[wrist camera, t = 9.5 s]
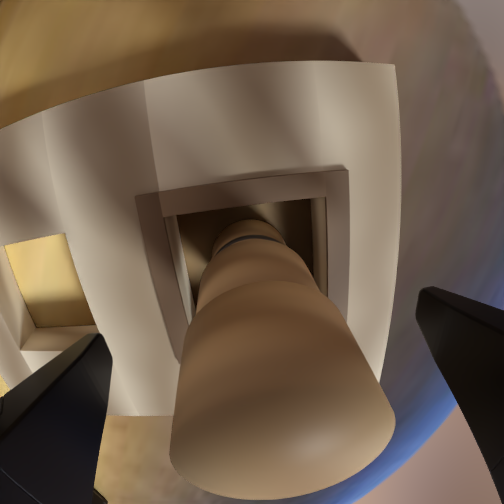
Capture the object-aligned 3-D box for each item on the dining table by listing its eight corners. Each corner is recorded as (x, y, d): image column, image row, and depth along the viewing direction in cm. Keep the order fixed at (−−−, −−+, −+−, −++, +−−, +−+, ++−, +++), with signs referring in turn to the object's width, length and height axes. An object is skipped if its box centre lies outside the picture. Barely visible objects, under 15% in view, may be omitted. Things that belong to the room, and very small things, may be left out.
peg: (208, 303, 14) (200, 504, 5) (191, 214, 12) (134, 399, 4) (300, 291, 14) (374, 477, 6) (295, 201, 12) (417, 357, 4)
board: (33, 385, 15) (21, 409, 13) (-52, 163, 10) (-79, 173, 8) (365, 359, 16) (380, 387, 14) (370, 71, 10) (397, 63, 8)
